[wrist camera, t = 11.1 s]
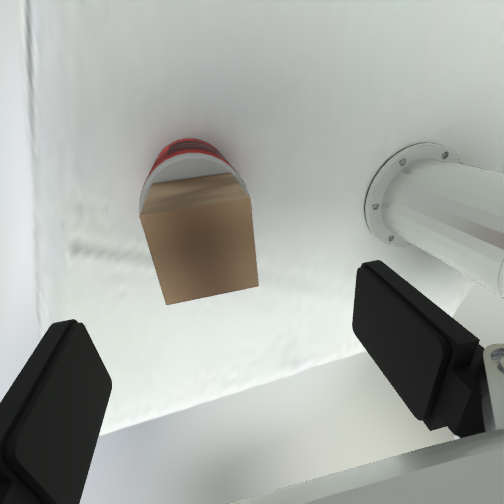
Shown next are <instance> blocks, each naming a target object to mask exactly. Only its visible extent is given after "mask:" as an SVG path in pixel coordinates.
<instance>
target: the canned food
mask: <svg viewBox="0 0 504 504" xmlns="http://www.w3.org/2000/svg"><path fill="white" fill-rule="evenodd" d="M230 172H231V173H232V175H233V176H234V177H235V179H236V180H237V181H238V183H239V184H240V185H241V187H242V188H243V189H244V191H245V192H246V193H247V195H248V196H249V193H248V191H247V188H246V185H245V184H244V182H243V180H242V179H241V177H240V175H239V174H238V173H237V171H236V170H235V169H234V168H233V167H232V166H231V165H230V164H229V163H228V161H227V160H226V159H225V158H224V157H223V156H222V155H221V154H220V153H219V151H218V150H217V149H215V148H214V147H213V146H211V145H210V144H208V143H206V142H204V141H201V140H197V139H182V140H178V141H175V142H173V143H171V144H170V145H168V146H167V147H166V148H164V149H163V151H162V152H161V153H160V154H159V156H158V158H157V159H156V161H155V163H154V165H153V167H152V169H151V171H150V173H149V175H148V177H147V179H146V181H145V183H144V186H143V188H142V192H141V196H140V210H139V213H141V210H142V208H143V205H144V203H145V200H146V198H147V195H148V193H149V190H150V187H151V185H152V184H153V183H160V182H167V181H174V180H181V179H188V178H195V177H202V176H209V175H216V174H223V173H230ZM249 197H250V196H249ZM250 202H251V201H250ZM251 212H252V207H251ZM141 224H142V223H141Z"/></svg>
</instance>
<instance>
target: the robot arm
mask: <svg viewBox="0 0 504 504" xmlns="http://www.w3.org/2000/svg"><path fill="white" fill-rule="evenodd" d="M365 216H366V220H367V224H368V226H369V228H370V230H371V232H372V233H373V234H374V235H375V236H376V237H378V238H379V239H380V240H382V241H383V242H385V243H387V244H391V245H407V244H413V245H415V246H417V247H418V248H420V249H422V250H423V251H425V252H427V253H428V254H430V255H432V256H434V257H435V258H437V259H439V260H440V261H442V262H444V263H445V264H447V265H449V266H450V267H452V268H454V269H455V270H457V271H459V272H461V273H462V274H464V275H466V276H467V277H469V278H471V279H472V280H474V281H476V282H477V283H479V284H481V285H483V286H484V287H486V288H488V289H489V290H491V291H493V292H494V293H496V294H498V295H500V296H501V297H503V298H504V173H500V172H495V171H491V170H486V169H481V168H476V167H471V166H466V165H461V164H460V161H459V160H458V158H457V156H456V155H455V154H454V153H453V152H452V151H451V150H450V149H449V148H447V147H445V146H442V145H438V144H430V143H423V144H416V145H413V146H411V147H408V148H406V149H404V150H402V151H401V152H399V153H397V154H396V155H395V156H393V157H392V158H391V159H390V160H389V161H388V162H387V163H386V164H385V165H384V166H383V167H382V168H381V169H380V171H379V172H378V174H377V175H376V177H375V178H374V180H373V182H372V184H371V186H370V189H369V192H368V195H367V198H366V205H365ZM352 327H353V331H354V333H355V335H356V336H357V338H358V339H359V341H360V342H361V343H362V345H363V346H364V348H365V349H366V350H367V352H368V353H369V354H370V356H371V357H372V358H373V360H374V361H375V363H376V364H377V365H378V367H379V368H380V369H381V371H382V372H383V374H384V375H385V376H386V378H387V379H388V381H389V382H390V383H391V385H392V386H393V387H394V389H395V390H396V392H397V393H398V394H399V396H400V397H401V398H402V400H403V401H404V402H405V404H406V405H407V407H408V408H409V409H410V411H411V412H412V414H413V415H414V416H415V417H416V418H417V419H418V420H420V421H421V420H423V421H424V423H425V424H426V426H427V427H428V429H429V430H430V431H432V430H435V429H439V428H442V427H446V426H448V428H449V429H450V430H451V431H452V432H453V434H454V440H453V441H449V442H445V443H441V444H438V445H433V446H429V447H426V448H422V449H418V450H415V451H411V452H408V453H404V454H401V455H397V456H394V457H390V458H387V459H383V460H379V461H376V462H373V463H369V464H366V465H362V466H358V467H355V468H351V469H348V470H344V471H341V472H337V473H334V474H330V475H326V476H323V477H319V478H316V479H312V480H309V481H305V482H302V483H299V484H295V485H292V486H288V487H285V488H281V489H278V490H274V491H271V492H267V493H264V494H260V495H257V496H254V497H250V498H246V499H243V500H240V501H236V502H233V503H230V504H504V344H493V345H490V346H487V347H486V349H484V348H483V347H482V346H481V345H479V341H480V340H479V339H478V338H477V337H475V336H474V335H473V334H472V333H471V332H469V331H468V330H467V329H466V328H464V327H463V326H462V325H461V324H459V323H458V322H457V321H455V320H454V319H453V318H452V317H451V316H449V315H448V314H447V313H446V312H444V311H443V310H442V309H441V308H439V307H438V306H437V305H436V304H434V303H433V302H432V301H431V300H429V299H428V298H427V297H426V296H424V295H423V294H422V293H421V292H419V291H418V290H417V289H416V288H414V287H413V286H412V285H411V284H409V283H408V282H407V281H406V280H404V279H403V278H402V277H401V276H399V275H398V274H397V273H396V272H394V271H393V270H392V269H391V268H389V267H388V266H387V265H386V264H384V263H383V262H382V261H380V260H376V261H371V262H366V263H363V264H362V265H361V268H358V270H357V277H356V288H355V299H354V310H353V322H352ZM111 390H112V381H111V378H110V376H109V374H108V372H107V370H106V368H105V366H104V364H103V362H102V360H101V358H100V356H99V354H98V352H97V350H96V348H95V346H94V344H93V342H92V340H91V338H90V336H89V334H88V332H87V330H86V328H85V326H84V324H83V323H78V322H77V321H76V320H74V319H72V320H67V321H62V322H56V323H53V324H52V325H51V326H50V327H49V329H48V330H47V332H46V333H45V335H44V336H43V338H42V339H41V341H40V343H39V344H38V346H37V347H36V349H35V350H34V352H33V354H32V355H31V357H30V358H29V360H28V361H27V363H26V364H25V366H24V367H23V369H22V370H21V372H20V373H19V375H18V376H17V378H16V380H15V381H14V383H13V384H12V386H11V387H10V389H9V391H8V392H7V393H6V395H5V396H4V398H3V400H2V401H1V403H0V504H79V503H80V499H81V496H82V492H83V489H84V485H85V481H86V478H87V475H88V471H89V468H90V464H91V460H92V457H93V453H94V449H95V446H96V443H97V439H98V436H99V432H100V429H101V425H102V422H103V418H104V415H105V411H106V408H107V404H108V401H109V397H110V394H111Z"/></svg>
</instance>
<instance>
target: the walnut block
mask: <svg viewBox="0 0 504 504" xmlns="http://www.w3.org/2000/svg"><path fill="white" fill-rule="evenodd" d="M140 219H141V223H142V226H143V229H144V233H145V236H146V239H147V243H148V246H149V249H150V253H151V256H152V259H153V263H154V266H155V269H156V273H157V276H158V279H159V283H160V286H161V289H162V293H163V296H164V299H165V303H166V305H170V304H175V303H180V302H185V301H190V300H194V299H199V298H204V297H209V296H214V295H219V294H223V293H228V292H233V291H238V290H243V289H248V288H252V287H257V286H259V284H258V273H257V263H256V253H255V243H254V232H253V222H252V212H251V202H250V197H249V196H248V195H247V193H246V192H245V191H244V189H243V188H242V187H241V185H240V184H239V183H238V181H237V180H236V179H235V177H234V176H233V175H232V173H231V172H230V173H223V174H216V175H209V176H202V177H195V178H188V179H181V180H174V181H167V182H160V183H153V184H152V185H151V187H150V190H149V193H148V195H147V198H146V200H145V203H144V205H143V208H142V210H141V213H140Z"/></svg>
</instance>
